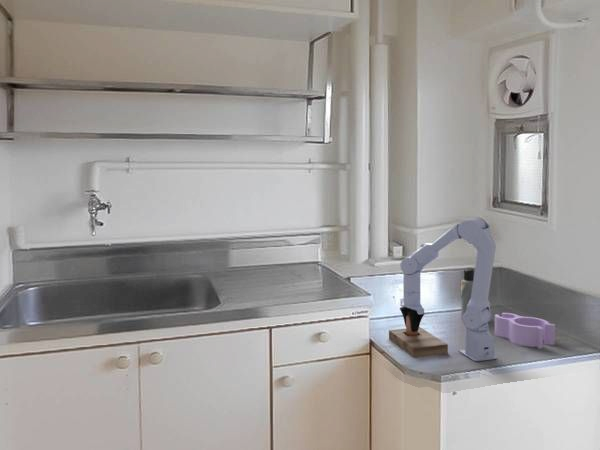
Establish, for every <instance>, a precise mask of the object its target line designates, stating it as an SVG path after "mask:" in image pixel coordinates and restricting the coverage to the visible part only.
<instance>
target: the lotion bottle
mask: <svg viewBox="0 0 600 450" xmlns="http://www.w3.org/2000/svg"><path fill="white" fill-rule="evenodd" d="M474 272H475V269H474V268H471V267H467V268H464V269H463V279H462V280H461V283H460V284H461V285H460V286H461V287H460V289H461V293H460V295H461V296H460V299H461V300H460V301H461V302H460V317H461V319H462V317H463V314H464V313H465V312H466V309H467V305H468V303H469V301H470V299H471V293H472V286H473V279H474Z"/></svg>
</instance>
